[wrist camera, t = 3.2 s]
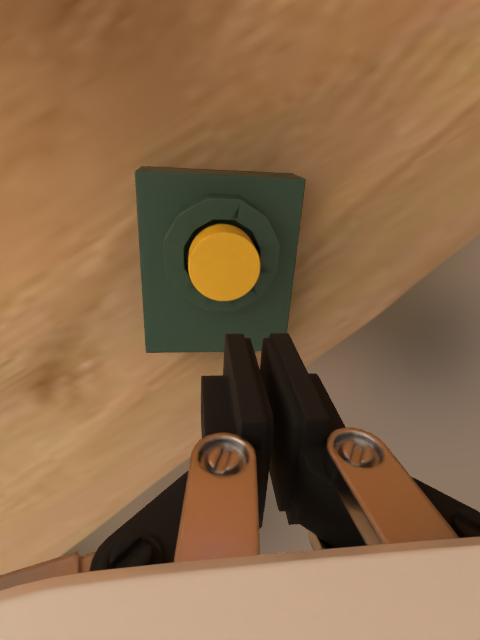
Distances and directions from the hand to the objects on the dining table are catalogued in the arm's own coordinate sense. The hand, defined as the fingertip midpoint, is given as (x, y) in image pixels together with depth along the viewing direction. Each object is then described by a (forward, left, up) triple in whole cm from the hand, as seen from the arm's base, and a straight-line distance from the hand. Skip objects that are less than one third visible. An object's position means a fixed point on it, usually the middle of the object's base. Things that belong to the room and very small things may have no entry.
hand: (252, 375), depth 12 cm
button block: (+1, +1, -17) cm, 17 cm away
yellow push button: (0, 0, -13) cm, 13 cm away
